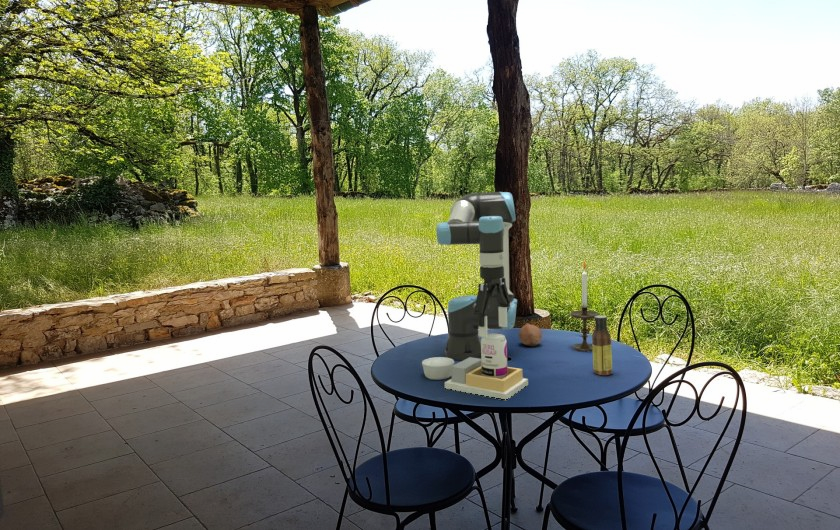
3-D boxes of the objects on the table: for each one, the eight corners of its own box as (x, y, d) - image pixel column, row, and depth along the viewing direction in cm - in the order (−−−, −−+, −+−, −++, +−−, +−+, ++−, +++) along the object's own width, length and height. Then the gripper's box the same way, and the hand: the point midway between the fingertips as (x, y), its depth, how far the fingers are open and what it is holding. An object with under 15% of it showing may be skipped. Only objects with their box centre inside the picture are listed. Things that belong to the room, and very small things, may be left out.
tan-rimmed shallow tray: (444, 388, 175) (444, 367, 174) (469, 374, 188) (468, 355, 187) (506, 400, 162) (505, 378, 162) (528, 384, 175) (527, 364, 174)
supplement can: (506, 377, 177) (505, 332, 175) (508, 385, 169) (507, 339, 167) (481, 377, 178) (480, 333, 176) (482, 385, 170) (481, 339, 168)
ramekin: (417, 373, 191) (417, 359, 191) (446, 369, 196) (445, 355, 195) (430, 383, 181) (429, 368, 180) (460, 377, 185) (459, 363, 185)
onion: (523, 350, 226) (517, 327, 229) (545, 345, 224) (539, 321, 227) (520, 348, 217) (514, 324, 220) (543, 342, 215) (536, 318, 218)
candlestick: (574, 344, 222) (574, 259, 218) (601, 346, 216) (601, 260, 212) (567, 350, 213) (566, 262, 209) (595, 353, 207) (595, 263, 203)
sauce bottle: (612, 371, 186) (612, 314, 184) (612, 376, 180) (612, 318, 178) (592, 369, 188) (592, 314, 186) (591, 375, 182) (591, 317, 180)
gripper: (483, 271, 157) (485, 342, 160) (519, 261, 177) (520, 323, 180) (461, 270, 161) (463, 339, 164) (499, 260, 181) (500, 321, 184)
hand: (493, 331), depth 172 cm, fingers open, 13 cm apart
